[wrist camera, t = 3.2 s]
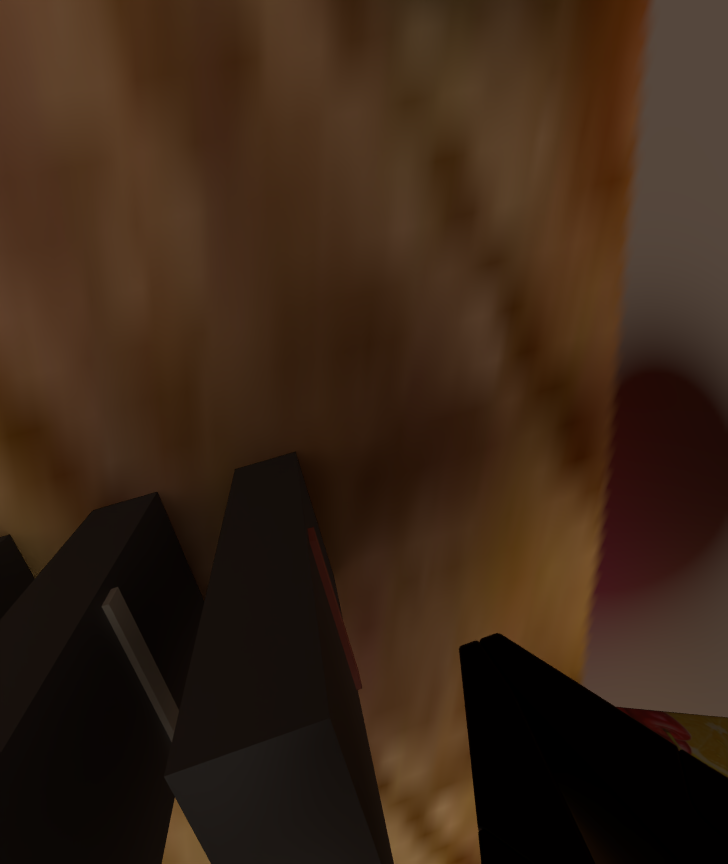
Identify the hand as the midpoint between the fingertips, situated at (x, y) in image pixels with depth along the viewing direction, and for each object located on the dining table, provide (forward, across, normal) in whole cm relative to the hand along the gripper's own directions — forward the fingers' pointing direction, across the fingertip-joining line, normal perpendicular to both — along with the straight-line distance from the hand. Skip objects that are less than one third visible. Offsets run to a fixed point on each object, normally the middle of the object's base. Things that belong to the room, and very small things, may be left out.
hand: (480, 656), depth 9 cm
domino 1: (+8, +8, 0) cm, 11 cm away
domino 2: (+8, +4, 0) cm, 8 cm away
